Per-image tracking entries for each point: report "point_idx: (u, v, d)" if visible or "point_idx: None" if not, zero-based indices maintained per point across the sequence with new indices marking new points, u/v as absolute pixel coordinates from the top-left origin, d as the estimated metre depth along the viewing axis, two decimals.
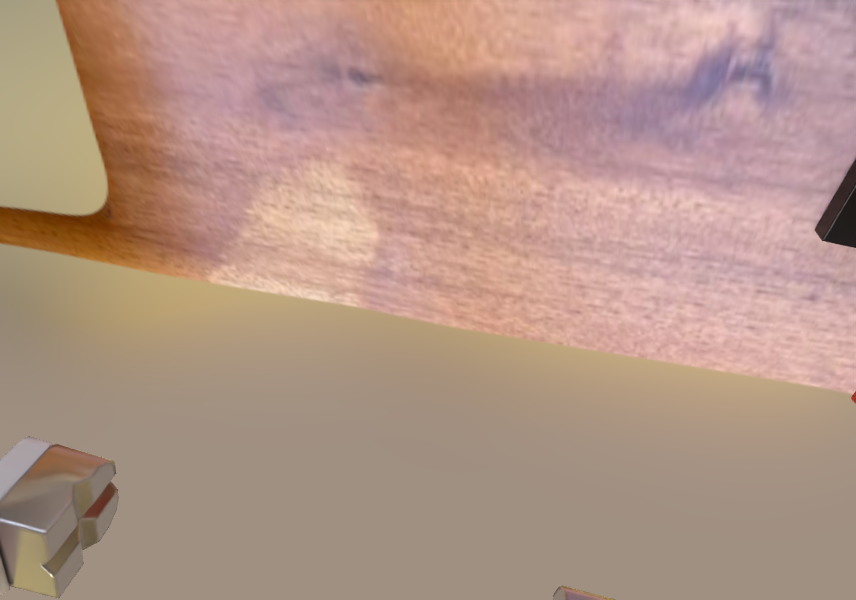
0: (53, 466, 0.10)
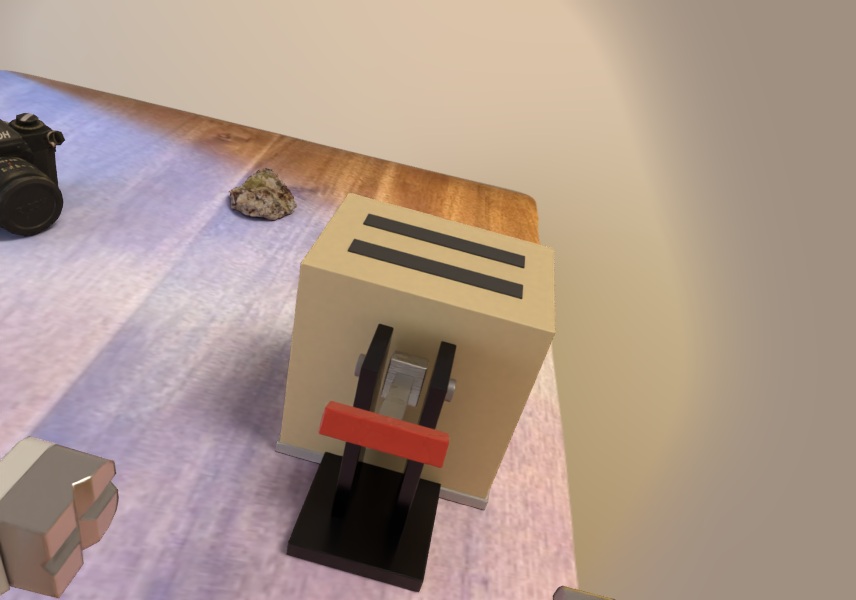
0: (53, 466, 0.10)
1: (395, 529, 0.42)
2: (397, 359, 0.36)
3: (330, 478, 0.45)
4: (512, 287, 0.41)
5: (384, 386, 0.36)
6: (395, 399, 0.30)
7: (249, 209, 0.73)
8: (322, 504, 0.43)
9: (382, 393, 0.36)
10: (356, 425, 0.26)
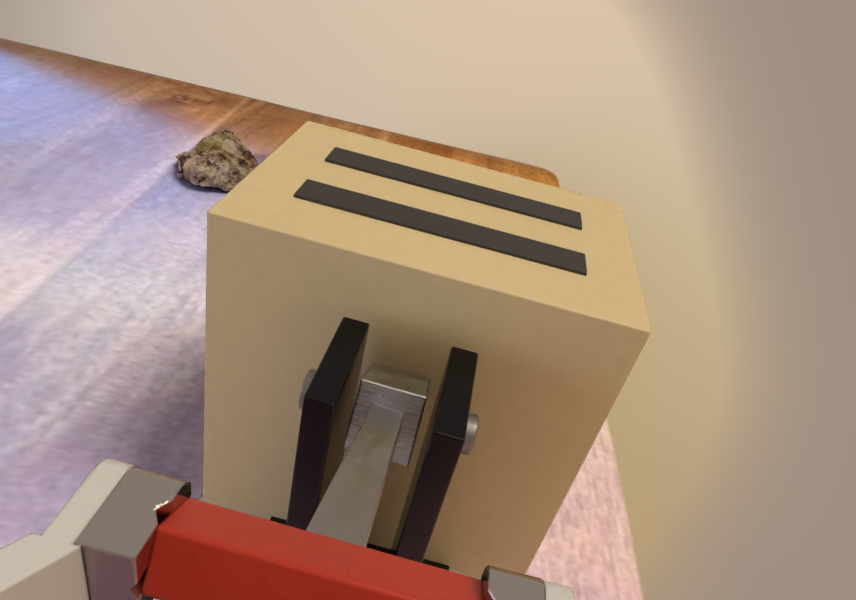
0: (134, 489, 0.10)
1: None
2: (373, 380, 0.20)
3: None
4: (568, 257, 0.24)
5: (350, 429, 0.20)
6: (359, 473, 0.14)
7: (199, 176, 0.57)
8: None
9: (346, 441, 0.20)
10: (240, 573, 0.10)
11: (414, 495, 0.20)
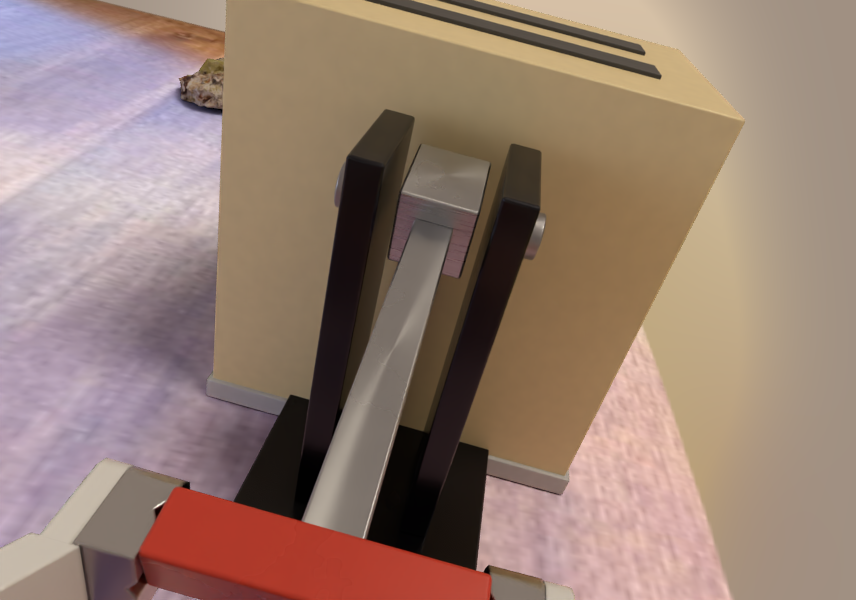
0: (133, 488, 0.10)
1: (414, 526, 0.22)
2: (415, 192, 0.16)
3: (296, 437, 0.25)
4: (638, 64, 0.21)
5: (392, 242, 0.18)
6: (379, 381, 0.13)
7: (204, 95, 0.54)
8: (279, 481, 0.23)
9: (390, 253, 0.18)
10: (231, 590, 0.10)
11: (473, 295, 0.17)
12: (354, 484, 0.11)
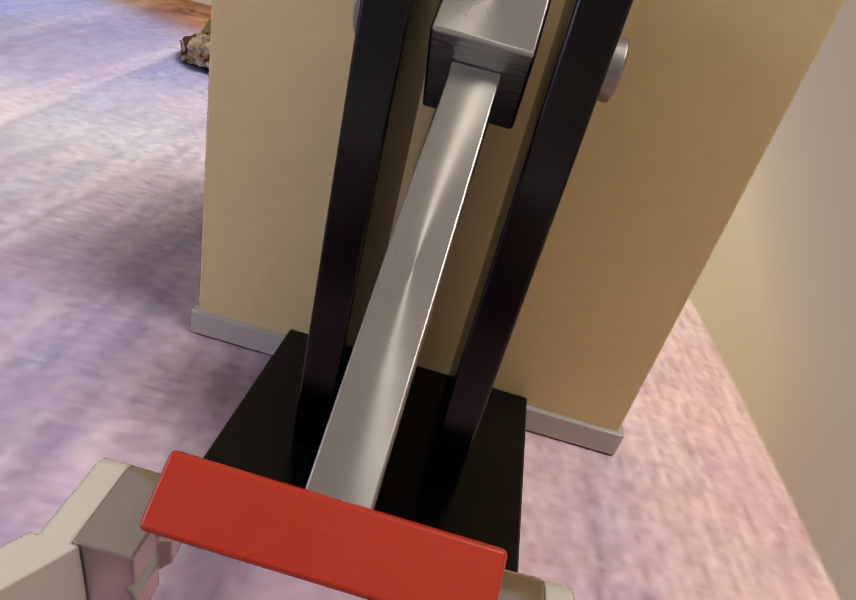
0: (132, 488, 0.10)
1: (441, 473, 0.18)
2: (452, 26, 0.12)
3: (297, 373, 0.21)
4: None
5: (427, 86, 0.14)
6: (397, 309, 0.11)
7: (205, 54, 0.50)
8: (274, 418, 0.19)
9: (425, 98, 0.14)
10: None
11: (536, 129, 0.13)
12: (363, 443, 0.10)
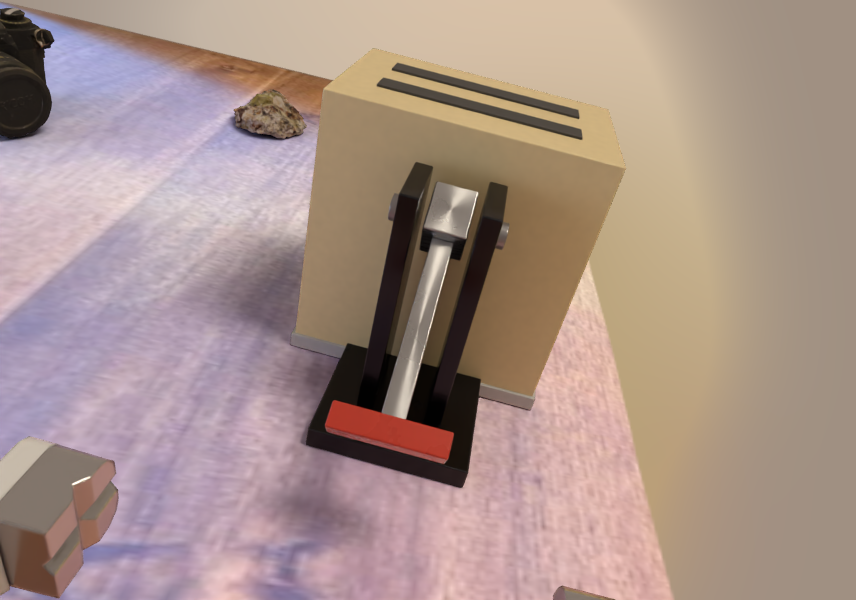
0: (53, 466, 0.10)
1: (432, 418, 0.36)
2: (431, 226, 0.30)
3: (354, 368, 0.39)
4: (569, 129, 0.35)
5: (421, 244, 0.31)
6: (412, 346, 0.28)
7: (256, 124, 0.67)
8: (346, 392, 0.37)
9: (420, 248, 0.32)
10: (358, 437, 0.27)
11: (467, 269, 0.30)
12: (401, 397, 0.27)
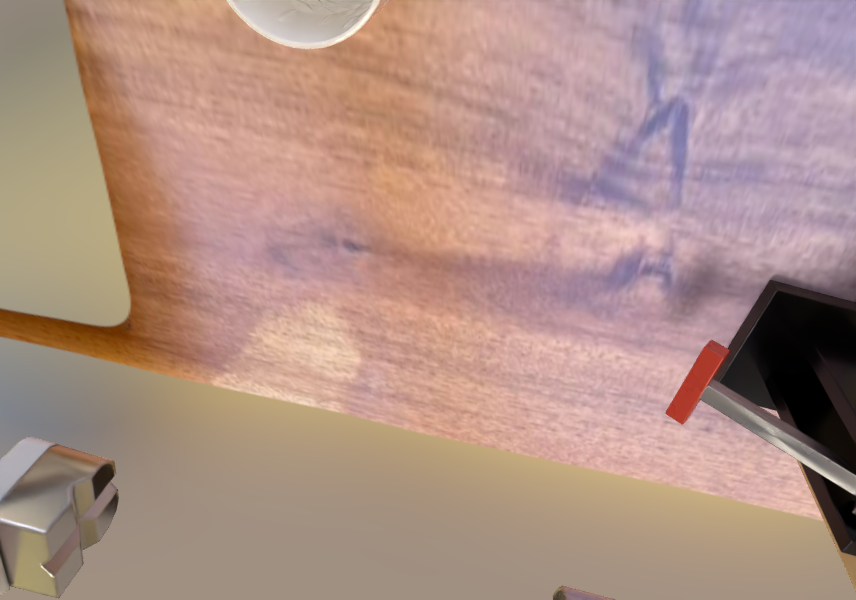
0: (53, 466, 0.10)
1: (769, 381, 0.42)
2: None
3: (855, 327, 0.40)
4: None
5: None
6: (758, 425, 0.35)
7: None
8: (819, 319, 0.40)
9: None
10: None
11: (829, 495, 0.34)
12: (717, 402, 0.36)
